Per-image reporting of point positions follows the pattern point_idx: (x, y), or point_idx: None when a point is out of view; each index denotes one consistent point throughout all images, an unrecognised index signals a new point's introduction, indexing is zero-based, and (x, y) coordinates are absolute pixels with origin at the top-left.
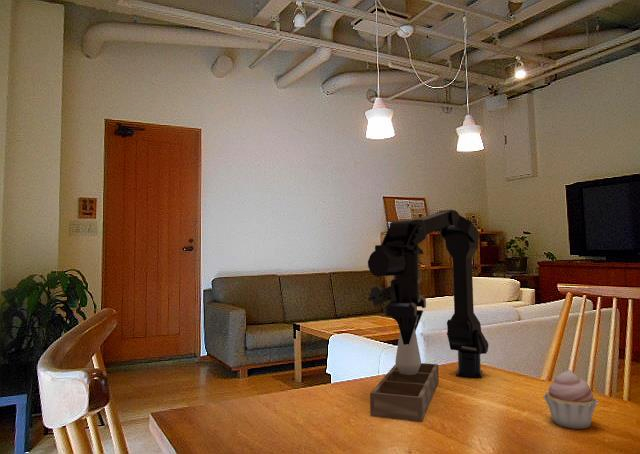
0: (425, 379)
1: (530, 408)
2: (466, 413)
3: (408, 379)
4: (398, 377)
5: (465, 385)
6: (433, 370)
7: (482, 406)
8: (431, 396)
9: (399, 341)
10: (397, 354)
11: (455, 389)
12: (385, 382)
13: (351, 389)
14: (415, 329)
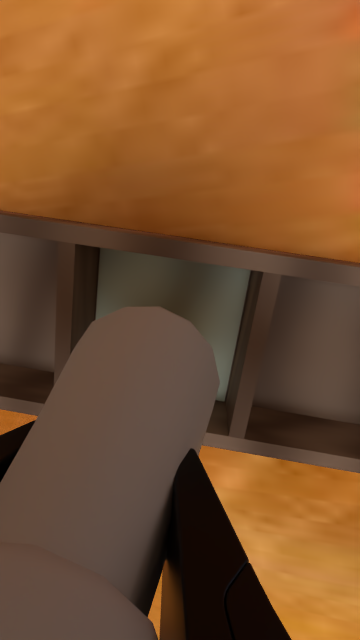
0: (230, 405)
1: None
2: None
3: (243, 336)
4: (254, 294)
5: (344, 508)
6: (295, 455)
7: None
8: None
9: (67, 396)
10: (96, 337)
11: (290, 473)
12: (60, 246)
13: (240, 61)
14: (160, 636)
